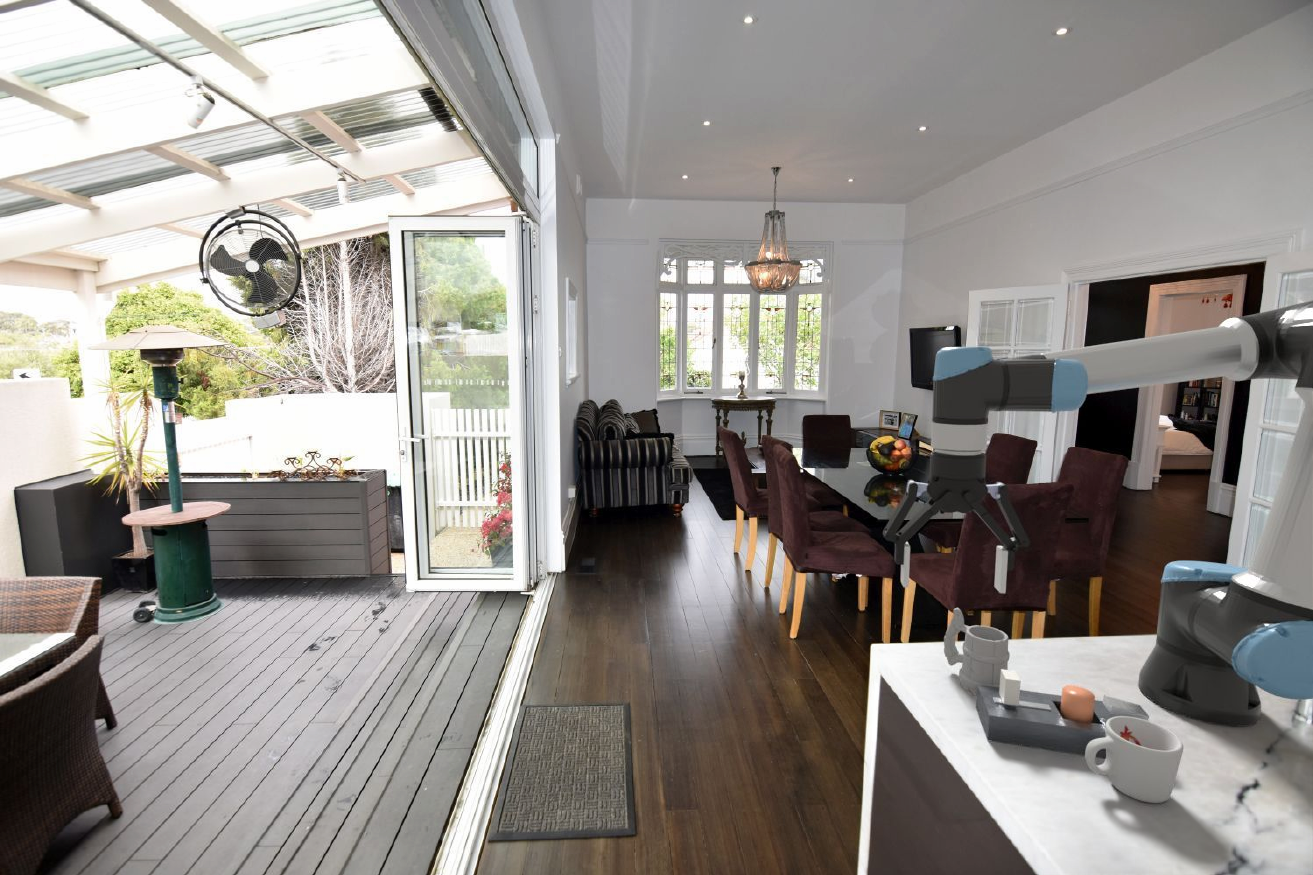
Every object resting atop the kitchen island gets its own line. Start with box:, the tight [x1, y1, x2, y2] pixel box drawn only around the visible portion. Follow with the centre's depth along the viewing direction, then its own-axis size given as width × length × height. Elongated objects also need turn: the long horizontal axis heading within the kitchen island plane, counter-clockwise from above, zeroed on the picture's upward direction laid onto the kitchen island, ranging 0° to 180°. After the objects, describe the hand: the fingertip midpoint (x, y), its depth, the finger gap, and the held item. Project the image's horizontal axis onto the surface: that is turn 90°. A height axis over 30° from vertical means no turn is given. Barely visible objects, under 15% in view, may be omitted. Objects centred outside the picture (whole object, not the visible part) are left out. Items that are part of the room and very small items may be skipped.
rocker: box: [1101, 695, 1150, 721], centre depth 90 cm, size 5×3×1 cm, turn 73°
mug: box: [943, 607, 1010, 696], centre depth 107 cm, size 8×12×12 cm, turn 26°
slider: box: [999, 669, 1022, 706], centre depth 94 cm, size 2×3×4 cm, turn 163°
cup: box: [1084, 716, 1184, 804], centre depth 81 cm, size 11×8×8 cm
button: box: [1060, 684, 1096, 723], centre depth 92 cm, size 4×4×5 cm
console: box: [975, 684, 1119, 760], centre depth 93 cm, size 21×9×5 cm, turn 73°
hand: (951, 587), depth 95 cm, fingers open, 13 cm apart
